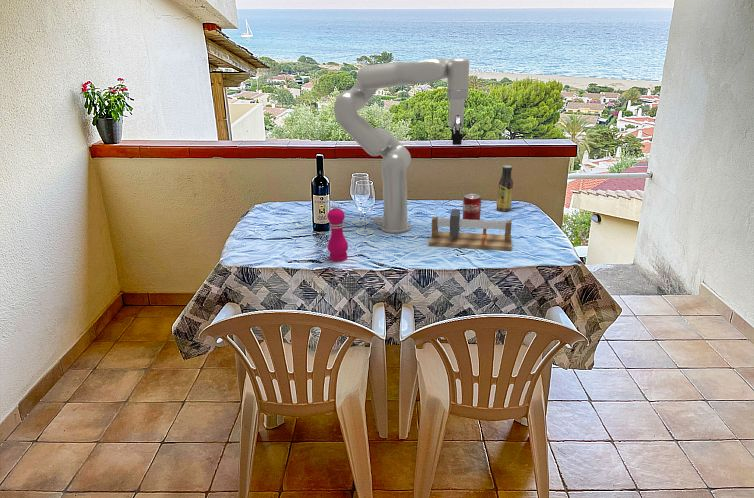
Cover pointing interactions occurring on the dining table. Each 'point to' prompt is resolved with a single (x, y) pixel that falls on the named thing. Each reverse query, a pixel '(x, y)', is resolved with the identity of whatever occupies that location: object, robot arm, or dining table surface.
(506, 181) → the sauce bottle
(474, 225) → the white long bar
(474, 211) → the soda can
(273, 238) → the dining table surface
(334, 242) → the pepper mill
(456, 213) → the collar
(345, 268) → the dining table surface
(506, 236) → the pipe stand
